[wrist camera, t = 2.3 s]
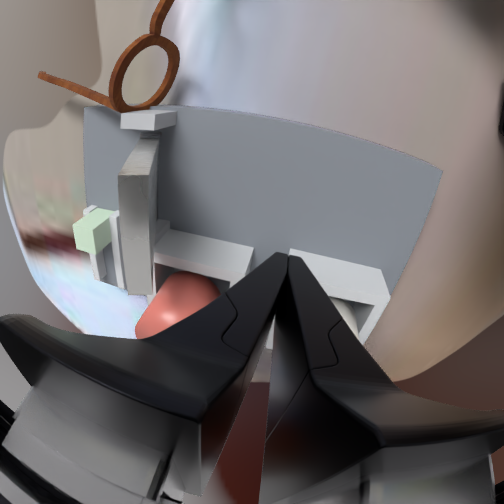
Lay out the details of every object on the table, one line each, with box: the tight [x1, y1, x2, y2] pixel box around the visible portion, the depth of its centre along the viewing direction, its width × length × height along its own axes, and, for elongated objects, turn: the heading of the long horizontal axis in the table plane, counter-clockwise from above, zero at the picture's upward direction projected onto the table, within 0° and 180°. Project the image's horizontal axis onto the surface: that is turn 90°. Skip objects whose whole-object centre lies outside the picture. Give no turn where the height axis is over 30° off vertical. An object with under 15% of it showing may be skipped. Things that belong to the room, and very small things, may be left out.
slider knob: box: [73, 208, 115, 255], centre depth 17 cm, size 2×2×3 cm
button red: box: [135, 271, 221, 339], centre depth 15 cm, size 4×4×4 cm
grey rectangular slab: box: [118, 131, 162, 295], centre depth 12 cm, size 1×5×8 cm, turn 171°
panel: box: [83, 104, 443, 349], centre depth 16 cm, size 22×14×5 cm, turn 81°
